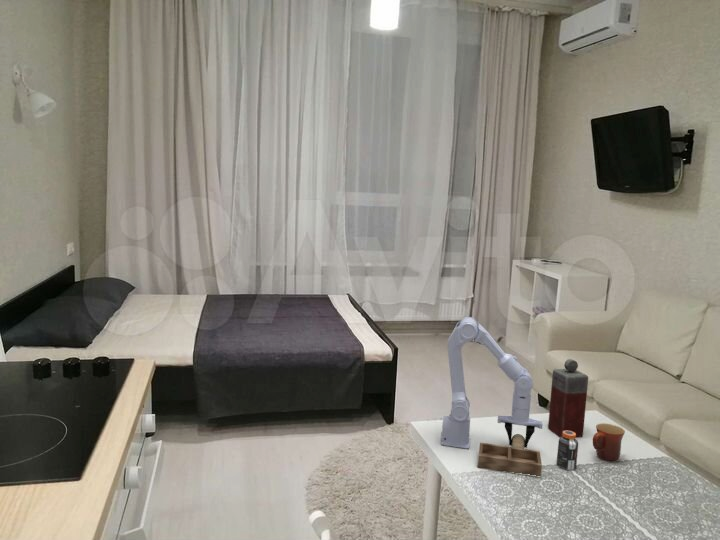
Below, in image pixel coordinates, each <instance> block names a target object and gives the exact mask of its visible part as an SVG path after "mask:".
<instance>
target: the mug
mask: <svg viewBox="0 0 720 540" xmlns="http://www.w3.org/2000/svg"><path fill="white" fill-rule="evenodd" d="M595 427H596V428H595V429H596V432H595V433H594V435H593V436H592V446H593V449H594V450H595V453H596V456H597V457H598V458H599V459H600V460H602V461H605V462H611V463H613V462H617V461H619V460H620V457H621V452H622V451H621V450H622V441H623V437H624V435H625V432H626V431H625V430H624V428H622V427H620V426H617V425H615V424H611V423H605V422H604V423H602V422H601V423H598V424H596V425H595Z"/></svg>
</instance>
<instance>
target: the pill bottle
mask: <svg viewBox="0 0 720 540" xmlns="http://www.w3.org/2000/svg"><path fill="white" fill-rule="evenodd" d="M557 443H558V445H557V454H556V456H557V457H556V465H557V467H559V468H561V469H563V468H564V469H563V470H568V471H573V470H575V469H576V468H577V463H578V452H579V441H578V440H577V438H576V433H574V432H572V431H568V430H565V431H563V434H562V437H558V442H557Z"/></svg>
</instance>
